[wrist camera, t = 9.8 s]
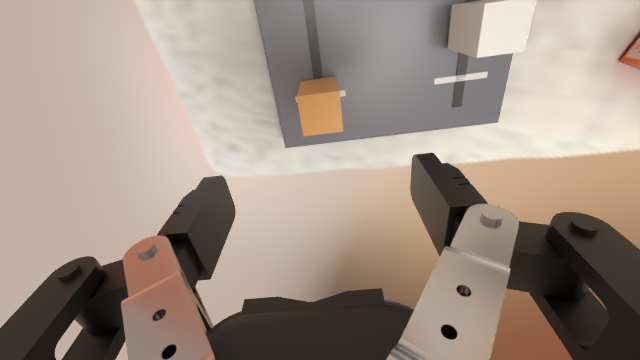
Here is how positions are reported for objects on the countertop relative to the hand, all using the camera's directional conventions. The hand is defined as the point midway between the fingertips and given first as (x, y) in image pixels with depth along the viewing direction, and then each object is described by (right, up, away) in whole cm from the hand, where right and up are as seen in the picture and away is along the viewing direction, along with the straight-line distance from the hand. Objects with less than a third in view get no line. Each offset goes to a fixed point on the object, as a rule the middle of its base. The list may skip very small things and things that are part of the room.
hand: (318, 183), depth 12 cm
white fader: (+12, +12, +9) cm, 19 cm away
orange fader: (0, +7, +12) cm, 14 cm away
